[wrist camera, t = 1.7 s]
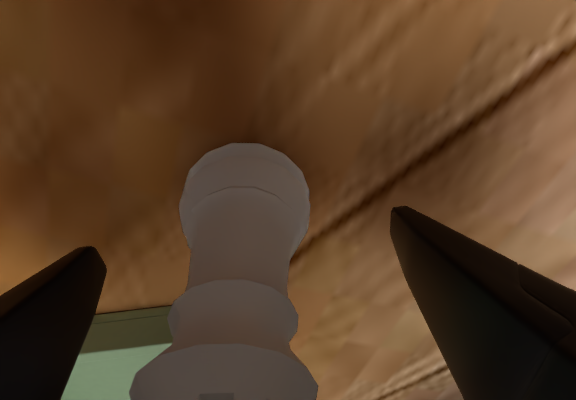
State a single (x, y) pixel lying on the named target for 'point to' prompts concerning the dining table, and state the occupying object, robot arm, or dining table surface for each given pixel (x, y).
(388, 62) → the dining table surface
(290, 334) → the rook chess piece
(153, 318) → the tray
